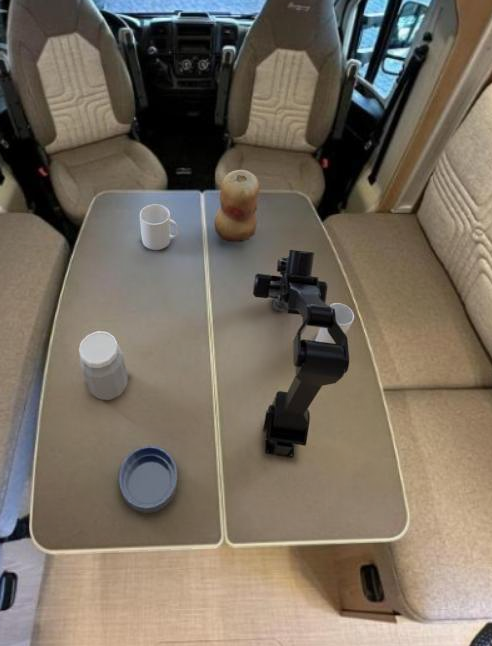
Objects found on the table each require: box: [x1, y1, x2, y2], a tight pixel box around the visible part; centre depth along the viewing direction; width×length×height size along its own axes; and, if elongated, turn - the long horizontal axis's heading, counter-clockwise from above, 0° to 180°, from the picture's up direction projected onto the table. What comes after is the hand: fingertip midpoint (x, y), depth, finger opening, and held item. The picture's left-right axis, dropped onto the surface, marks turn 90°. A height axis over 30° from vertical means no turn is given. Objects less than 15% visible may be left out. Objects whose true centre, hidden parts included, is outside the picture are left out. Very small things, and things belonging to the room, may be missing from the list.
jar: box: [78, 331, 129, 401], centre depth 97 cm, size 10×10×18 cm
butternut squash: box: [213, 169, 260, 243], centre depth 130 cm, size 14×13×25 cm
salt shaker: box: [271, 295, 288, 312], centre depth 117 cm, size 6×6×12 cm
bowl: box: [118, 445, 178, 514], centre depth 88 cm, size 12×12×6 cm
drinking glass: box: [314, 302, 355, 344], centre depth 108 cm, size 7×7×15 cm
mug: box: [139, 203, 180, 251], centre depth 133 cm, size 10×12×12 cm
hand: (285, 286), depth 117 cm, fingers closed on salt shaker, 3 cm apart
